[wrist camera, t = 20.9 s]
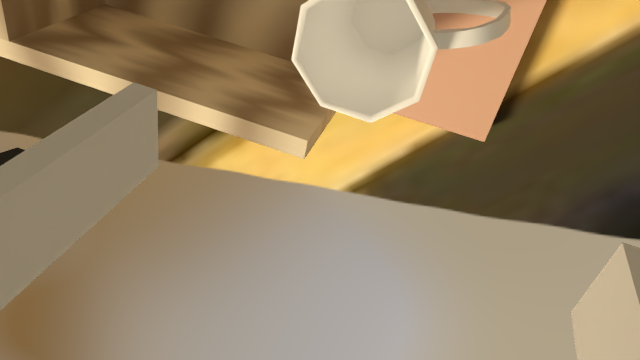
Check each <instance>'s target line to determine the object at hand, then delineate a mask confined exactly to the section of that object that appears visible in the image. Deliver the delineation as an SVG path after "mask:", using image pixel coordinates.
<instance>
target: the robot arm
mask: <svg viewBox="0 0 640 360" xmlns="http://www.w3.org/2000/svg"><path fill="white" fill-rule="evenodd" d="M157 167H158V108H157V90H156V89H153V88H150V87H147V86H144V85H141V84H138V83H134V82H133V83H132V84H130V85H129V86H127V87H126V88H124V89H122V90H121V91H119V92H118V93H116V94H114V95H113V96H111V97H110V98H108V99H106V100H105V101H103V102H102V103H100V104H98V105H97V106H95V107H94V108H92V109H90V110H89V111H87V112H86V113H84V114H82V115H81V116H79V117H78V118H76V119H75V120H73V121H71V122H70V123H68V124H67V125H65V126H63V127H62V128H60V129H59V130H57V131H55V132H54V133H52V134H51V135H49V136H47V137H46V138H44V139H43V140H41V141H40V142H38V143H36V144H35V145H33V146H32V147H30V148H29V149H27V150H23V149H20V148H15V149H11V150H9V151H5V152H2V153H0V310H1V309H2V308H3V307H5V306H6V305H7V304H8V303H9V302H10V301H11V300H12V299H13V298H15V297H16V296H17V295H18V294H19V293H20V292H21V291H22V290H23V289H24V288H26V286H28V285H29V284H30V283H31V282H32V281H33V280H34V279H35V278H37V277H38V276H39V275H40V274H41V273H42V272H43V271H44V270H45V269H46V268H47V267H49V266H50V265H51V264H52V263H53V262H54V261H55V260H56V259H57V258H58V257H60V255H62V254H63V253H64V252H65V251H66V250H67V249H68V248H70V247H71V246H72V245H73V244H74V243H75V242H76V241H77V240H78V239H79V238H80V237H81V236H83V235H84V234H85V233H86V232H87V231H88V230H89V229H90V228H91V227H93V226H94V225H95V224H96V223H97V222H98V221H99V220H100V219H101V218H102V217H104V216H105V215H106V214H107V213H108V212H109V211H110V210H111V209H112V208H114V207H115V206H116V205H117V204H118V203H119V202H120V201H121V200H122V199H123V198H124V197H125V196H127V195H128V194H129V193H130V192H131V191H132V190H133V189H134V188H135V187H136V186H137V185H139V184H140V183H141V182H142V181H143V180H144V179H145V178H146V177H148V176H149V174H151V173H152V172H153V171H154V170H155V169H156V168H157ZM571 316H572V324H573V331H574V340H575V347H576V355H577V360H640V248H638V247H635V246H632V245H629V244H626V243H622V244H621V245H620V246H619V248H618V249H617V250H616V252H615V253H614V255H613V256H612V257H611V259H610V260H609V261H608V263H607V264H606V265H605V267H604V268H603V270H602V271H601V272H600V273H599V275H598V276H597V278H596V279H595V280H594V282H593V283H592V284H591V286H590V287H589V288H588V290H587V291H586V293H585V294H584V295H583V297H582V298H581V299H580V301H579V302H578V304H577V305H576V306H575V308H574V309H573V310H572V312H571Z"/></svg>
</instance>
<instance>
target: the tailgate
mask: <svg viewBox="0 0 640 360" xmlns="http://www.w3.org/2000/svg"><path fill="white" fill-rule="evenodd" d="M496 1H502V2H505V3H507V4H508V5H509V6H511V23H510V26H509V29H508V30H507V31H506V32H505V33H504V34H503V35H502V36H501V37H499V38H496V39H494V40H491V41H489V42H487V43H484V44H480V45H475V46H470V47H463V48H455V49H440V50H437V52H436V55H435V58H434V60H433V63H432V66H431V69H430V72H429V75H428V77H427V80H426V83H425V86H424V89H423V92H422V94H421V97H420V100H419V102H416V103H414V104H412V105H410V106H407V107H405V108H403V109H401V110H398V111H396V112H394V114H397V115H400V116H403V117H407V118H410V119H413V120H416V121H419V122H423V123H426V124H429V125H432V126H435V127H439V128H442V129H445V130H448V131H451V132H454V133H458V134H461V135H464V136H467V137H470V138H474V139H477V140H480V141H483V142H484V141H485V139H486V137H487V134H488V132H489V130H490V128H491V125H492V123H493V121H494V119H495V116H496V114H497V112H498V109H499V107H500V105H501V103H502V100H503V98H504V96H505V94H506V91H507V89H508V87H509V85H510V82H511V80H512V78H513V75H514V73H515V71H516V69H517V66H518V64H519V62H520V60H521V57H522V55H523V53H524V51H525V48H526V46H527V44H528V42H529V39H530V37H531V35H532V32H533V30H534V28H535V26H536V23H537V21H538V19H539V17H540V14H541V12H542V10H543V8H544V5H545V3H546V1H547V0H496ZM432 15H433V17H434V19H435V24H436V29H462V28H471V27H476V26H479V25H482V24H485V23H487V22H490V21H492V20H495V19H496V18H495V17H490V16H483V15H473V14H462V13H434V14H432Z"/></svg>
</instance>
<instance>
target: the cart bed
mask: <svg viewBox="0 0 640 360" xmlns="http://www.w3.org/2000/svg"><path fill="white" fill-rule="evenodd" d="M307 1H309V0H0V56H1V57H4V58H7V59H10V60H13V61H16V62H19V63H22V64H25V65H28V66H31V67H34V68H37V69H40V70H43V71H46V72H49V73H51V74H54V75H57V76H60V77H63V78H66V79H69V80H72V81H75V82H78V83H81V84H84V85H87V86H90V87H93V88H96V89H99V90H102V91H105V92H108V93H110V94H113V95H114V94H116V93H118V92H119V91H121V90H122V89H124V88H126V87H127V86H129V85H130V84H132V83H133V82H134V83H138V84H141V85H144V86H147V87H150V88H153V89H156V90H157V108H158V110H161V111H164V112H166V113H169V114H172V115H175V116H178V117H181V118H184V119H187V120H190V121H193V122H196V123H199V124H202V125H205V126H208V127H211V128H214V129H217V130H220V131H223V132H225V133H228V134H231V135H234V136H237V137H240V138H243V139H246V140H249V141H252V142H255V143H258V144H261V145H264V146H267V147H270V148H273V149H276V150H279V151H282V152H284V153H287V154H290V155H293V156H296V157H299V158H302V159H305V157H306V156H307V154H308V153H309V151H310V150H311V148H312V147H313V145H314V144H315V142H316V141H317V139H318V138H319V136H320V135H321V133H322V132H323V130H324V129H325V127H326V126H327V124H328V123H329V122H330V120H331V119H332V117H333V116H334V114H335V113H336V111H334V110H331V109H328V108H325V107H322V106H320V105H319V103H318V102H317V100H316V98H315V97H314V95H313V94H312V92H311V90H310V89H309V87H308V86H307V84H306V82H305V81H304V79H303V78H302V76H301V74H300V73H299V71H298V70H297V68H296V66H295V65H294V63H293V62H292V60H291V59H292V53H293V47H294V42H295V36H296V30H297V24H298V19H299V13H300V7H301V5H302V4H304V3H305V2H307Z"/></svg>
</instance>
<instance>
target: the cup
mask: <svg viewBox="0 0 640 360" xmlns="http://www.w3.org/2000/svg"><path fill="white" fill-rule="evenodd" d="M434 13H462V14H473V15H483V16H490V17H495V18H496V19H495V20H492V21H490V22H487V23H485V24H482V25H479V26H476V27H471V28H462V29H436V24H435V19H434V17H433V15H432V14H434ZM510 23H511V6H509V5H508V4H507V3H505V2H502V1H496V0H309V1H307V2H305V3H304V4H302V5H301V7H300V13H299V19H298V24H297V30H296V36H295V42H294V47H293V53H292V59H291V60H292V62H293V63H294V65H295V66H296V68H297V70H298V71H299V73H300V74H301V76H302V78H303V79H304V81H305V82H306V84H307V86H308V87H309V89H310V90H311V92H312V94H313V95H314V97H315V98H316V100H317V102H318V103H319V105H320V106H322V107H325V108H328V109H331V110H334V111H337V112H340V113H343V114H346V115H349V116H352V117H355V118H358V119H361V120H364V121H367V122H369V123H371V122H374V121H376V120H378V119H380V118H383V117H385V116H387V115H389V114H392V113H394V112H396V111H398V110H401V109H403V108H405V107H407V106H410V105H412V104H414V103H416V102H419V100H420V97H421V94H422V92H423V89H424V86H425V83H426V80H427V77H428V75H429V72H430V69H431V66H432V63H433V60H434V58H435V55H436V52H437V50H440V49H455V48H463V47H470V46H475V45H480V44H484V43H487V42H489V41H491V40H494V39H496V38H499V37H501V36H502V35H503V34H504V33H505V32H506V31H507V30H508V29H509V26H510Z"/></svg>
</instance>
